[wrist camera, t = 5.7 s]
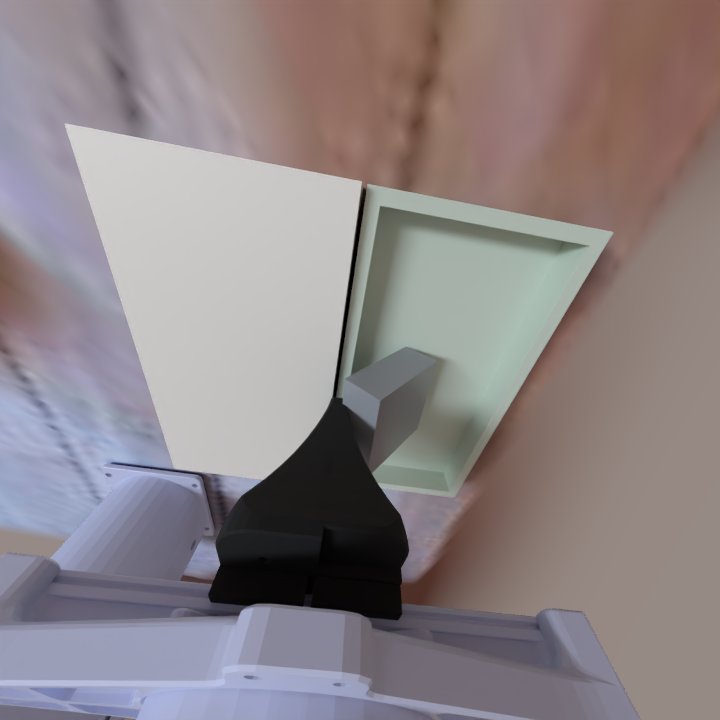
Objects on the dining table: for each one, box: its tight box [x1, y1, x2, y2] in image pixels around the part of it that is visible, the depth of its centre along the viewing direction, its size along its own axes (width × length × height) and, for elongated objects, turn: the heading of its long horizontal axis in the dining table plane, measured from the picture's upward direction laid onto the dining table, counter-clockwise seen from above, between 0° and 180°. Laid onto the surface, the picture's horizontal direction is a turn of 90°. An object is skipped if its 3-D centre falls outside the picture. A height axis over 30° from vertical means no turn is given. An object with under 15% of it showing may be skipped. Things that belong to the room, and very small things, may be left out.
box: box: [336, 184, 613, 498], centre depth 15 cm, size 18×10×2 cm, turn 171°
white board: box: [65, 123, 363, 480], centre depth 14 cm, size 18×10×2 cm, turn 171°
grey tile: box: [343, 347, 438, 473], centre depth 14 cm, size 5×5×2 cm
